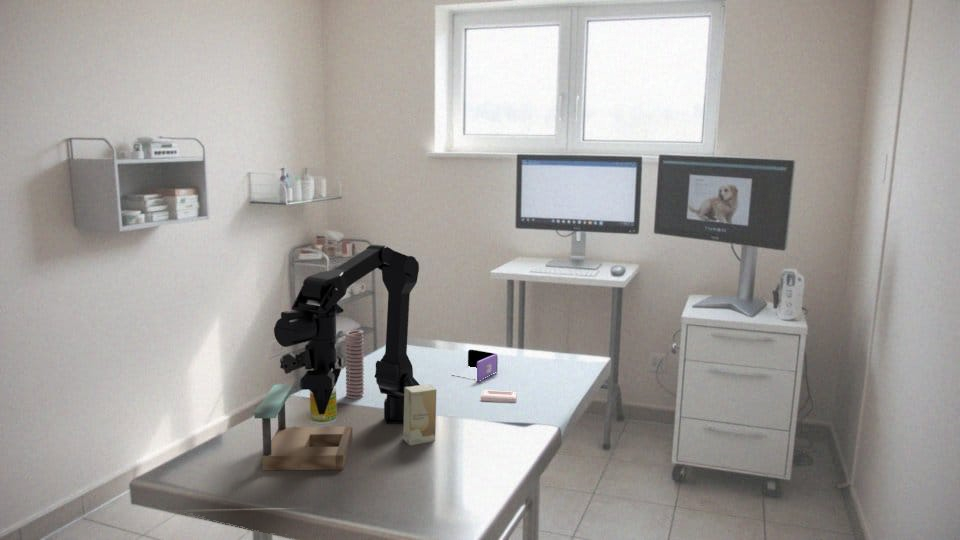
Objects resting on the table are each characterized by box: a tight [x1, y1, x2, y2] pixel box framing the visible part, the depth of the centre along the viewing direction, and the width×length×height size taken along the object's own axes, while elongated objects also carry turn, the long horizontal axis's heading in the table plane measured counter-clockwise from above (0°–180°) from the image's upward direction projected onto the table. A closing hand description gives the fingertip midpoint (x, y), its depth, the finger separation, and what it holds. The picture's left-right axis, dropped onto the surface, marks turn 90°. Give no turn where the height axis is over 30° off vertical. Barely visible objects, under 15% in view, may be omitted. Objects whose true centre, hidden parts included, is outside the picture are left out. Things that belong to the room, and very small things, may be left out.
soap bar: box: [480, 389, 518, 403], centre depth 191 cm, size 5×9×2 cm, turn 83°
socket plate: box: [253, 384, 353, 471], centre depth 154 cm, size 17×18×12 cm
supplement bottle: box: [309, 386, 338, 426], centre depth 153 cm, size 5×5×10 cm
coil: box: [344, 329, 365, 400], centre depth 190 cm, size 5×5×18 cm
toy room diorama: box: [451, 349, 499, 382], centre depth 211 cm, size 12×12×7 cm
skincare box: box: [402, 384, 437, 446], centre depth 162 cm, size 6×4×12 cm
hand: (323, 409), depth 153 cm, fingers closed on supplement bottle, 5 cm apart
